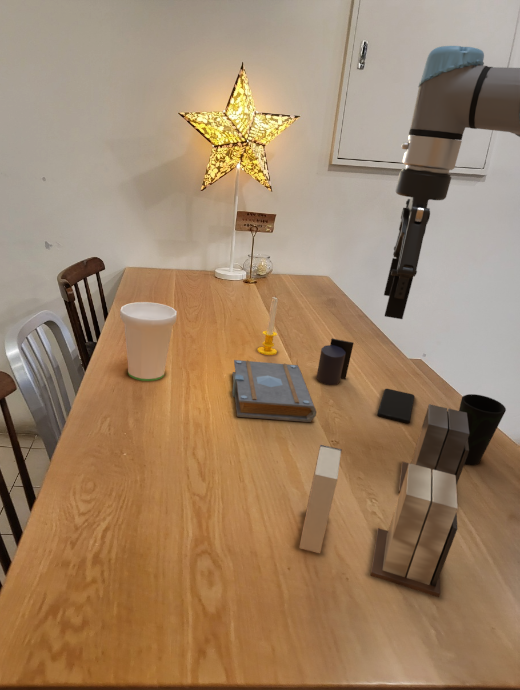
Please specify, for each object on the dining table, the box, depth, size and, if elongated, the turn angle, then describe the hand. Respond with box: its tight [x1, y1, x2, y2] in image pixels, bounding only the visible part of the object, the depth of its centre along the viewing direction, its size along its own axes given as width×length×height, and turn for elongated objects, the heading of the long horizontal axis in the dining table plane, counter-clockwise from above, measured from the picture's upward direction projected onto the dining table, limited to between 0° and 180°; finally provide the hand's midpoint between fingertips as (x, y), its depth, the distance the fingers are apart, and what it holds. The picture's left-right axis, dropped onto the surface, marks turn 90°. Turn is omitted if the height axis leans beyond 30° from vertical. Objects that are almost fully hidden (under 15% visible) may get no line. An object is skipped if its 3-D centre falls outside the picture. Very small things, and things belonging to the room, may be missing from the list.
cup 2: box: [458, 393, 507, 466], centre depth 102 cm, size 8×8×12 cm
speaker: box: [316, 337, 355, 386], centre depth 130 cm, size 8×6×10 cm
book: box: [231, 359, 317, 423], centre depth 119 cm, size 21×16×5 cm
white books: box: [370, 462, 459, 598], centre depth 74 cm, size 9×10×14 cm
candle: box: [257, 295, 279, 356], centre depth 142 cm, size 5×5×16 cm
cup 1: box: [119, 301, 178, 382], centre depth 122 cm, size 12×12×15 cm
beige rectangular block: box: [298, 444, 342, 554], centre depth 78 cm, size 3×8×13 cm, turn 165°
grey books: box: [398, 403, 469, 495], centre depth 92 cm, size 9×10×14 cm
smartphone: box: [377, 388, 415, 424], centre depth 122 cm, size 7×1×15 cm
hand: (392, 306), depth 91 cm, fingers open, 13 cm apart
